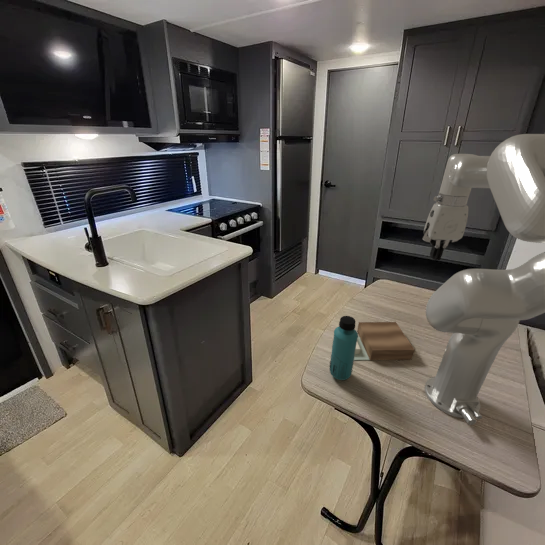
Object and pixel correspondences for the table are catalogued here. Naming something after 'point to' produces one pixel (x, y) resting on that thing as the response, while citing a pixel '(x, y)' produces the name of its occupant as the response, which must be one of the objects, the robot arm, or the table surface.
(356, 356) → the mat
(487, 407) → the table surface
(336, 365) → the beverage bottle
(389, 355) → the flat brown wooden block
